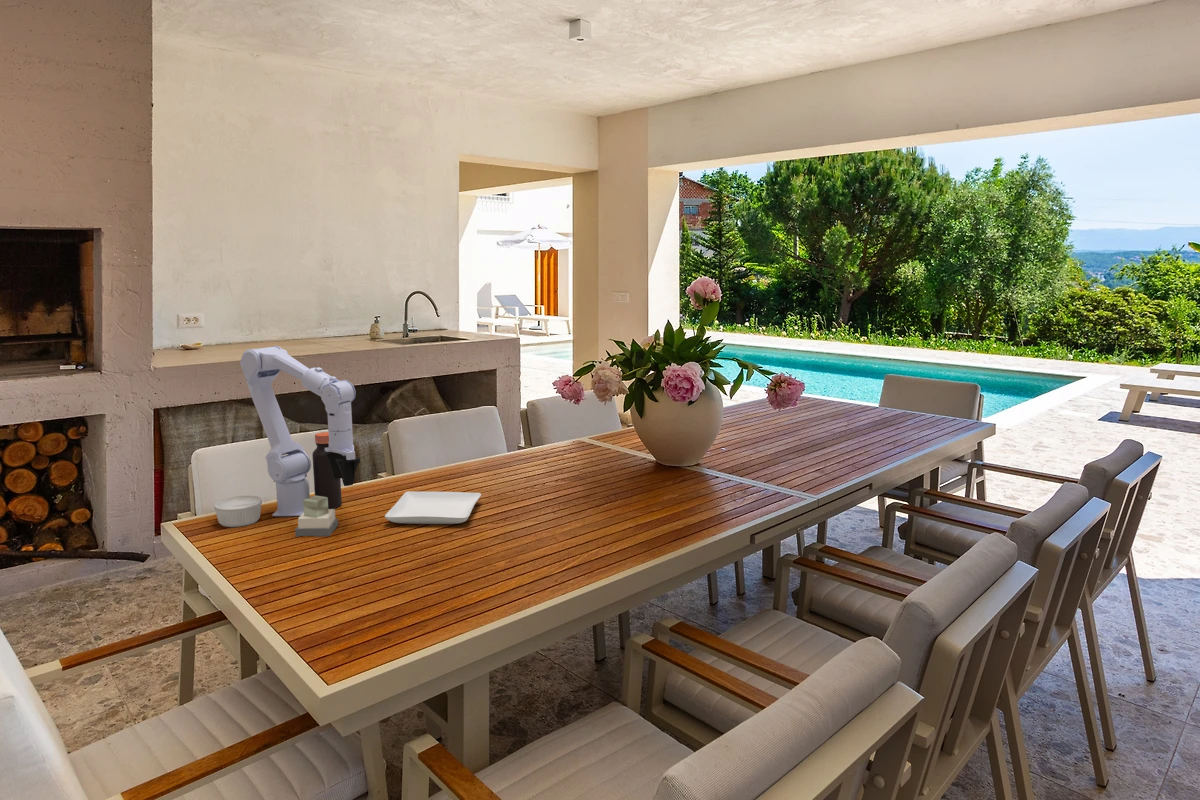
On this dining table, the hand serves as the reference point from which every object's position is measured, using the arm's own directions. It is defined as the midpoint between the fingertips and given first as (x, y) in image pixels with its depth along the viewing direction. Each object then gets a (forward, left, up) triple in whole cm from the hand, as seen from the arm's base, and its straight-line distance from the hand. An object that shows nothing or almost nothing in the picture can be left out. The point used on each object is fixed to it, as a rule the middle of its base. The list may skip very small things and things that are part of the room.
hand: (343, 481), depth 199 cm
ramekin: (-1, -27, -11) cm, 29 cm away
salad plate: (-5, +22, -11) cm, 25 cm away
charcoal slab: (+7, -5, -11) cm, 14 cm away
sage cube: (+7, -5, -6) cm, 11 cm away
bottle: (-13, -8, -11) cm, 19 cm away
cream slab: (+7, -5, -9) cm, 12 cm away
